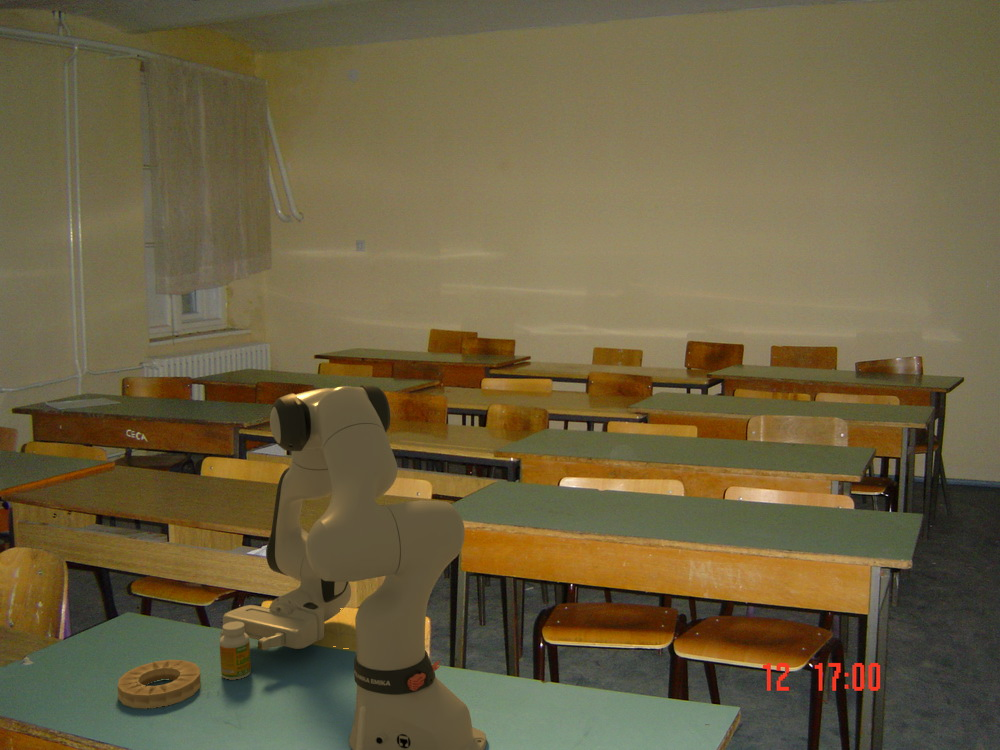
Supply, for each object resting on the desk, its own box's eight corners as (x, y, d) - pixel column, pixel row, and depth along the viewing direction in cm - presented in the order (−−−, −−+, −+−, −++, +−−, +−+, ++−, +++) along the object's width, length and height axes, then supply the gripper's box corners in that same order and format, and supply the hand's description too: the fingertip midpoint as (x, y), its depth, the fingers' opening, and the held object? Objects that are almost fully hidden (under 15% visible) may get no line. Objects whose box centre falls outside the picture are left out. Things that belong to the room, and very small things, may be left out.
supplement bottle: (239, 682, 172) (236, 632, 171) (215, 678, 174) (212, 628, 173) (256, 670, 177) (254, 621, 176) (233, 666, 179) (230, 618, 178)
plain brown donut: (216, 681, 173) (216, 669, 172) (157, 715, 160) (156, 701, 160) (163, 666, 179) (162, 654, 179) (101, 697, 167) (100, 684, 166)
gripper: (250, 592, 193) (200, 616, 181) (329, 609, 183) (281, 634, 171) (252, 621, 194) (202, 646, 182) (330, 639, 184) (283, 667, 172)
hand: (241, 641), depth 176 cm, fingers open, 8 cm apart
